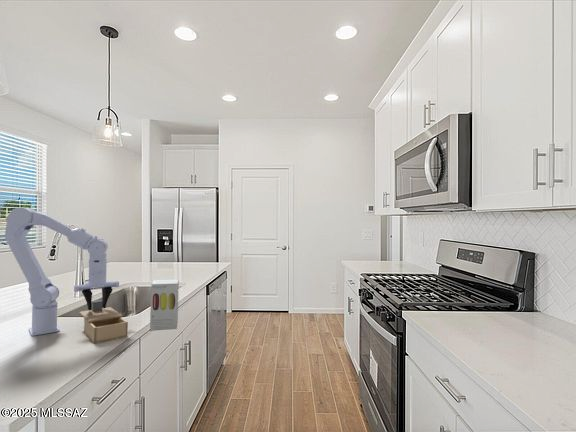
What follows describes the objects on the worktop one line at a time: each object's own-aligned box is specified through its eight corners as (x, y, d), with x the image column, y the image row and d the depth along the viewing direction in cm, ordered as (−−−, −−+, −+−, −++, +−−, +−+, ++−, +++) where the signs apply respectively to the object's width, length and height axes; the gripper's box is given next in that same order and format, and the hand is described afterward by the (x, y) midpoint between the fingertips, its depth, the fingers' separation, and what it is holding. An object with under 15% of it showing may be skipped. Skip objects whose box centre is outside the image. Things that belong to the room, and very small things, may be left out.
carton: (84, 332, 117) (84, 318, 117) (115, 327, 124) (115, 313, 124) (94, 343, 107) (94, 328, 107) (127, 336, 113) (127, 321, 113)
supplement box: (149, 331, 119) (150, 284, 120) (152, 323, 128) (152, 279, 128) (177, 329, 122) (178, 282, 122) (178, 321, 131) (179, 278, 131)
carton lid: (79, 313, 122) (79, 302, 122) (110, 308, 129) (110, 298, 129) (88, 322, 112) (88, 310, 112) (122, 316, 119) (122, 305, 119)
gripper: (77, 275, 116) (76, 314, 116) (121, 271, 126) (121, 307, 126) (73, 272, 122) (72, 310, 121) (116, 269, 131) (115, 304, 131)
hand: (96, 308), depth 124 cm, fingers open, 4 cm apart
